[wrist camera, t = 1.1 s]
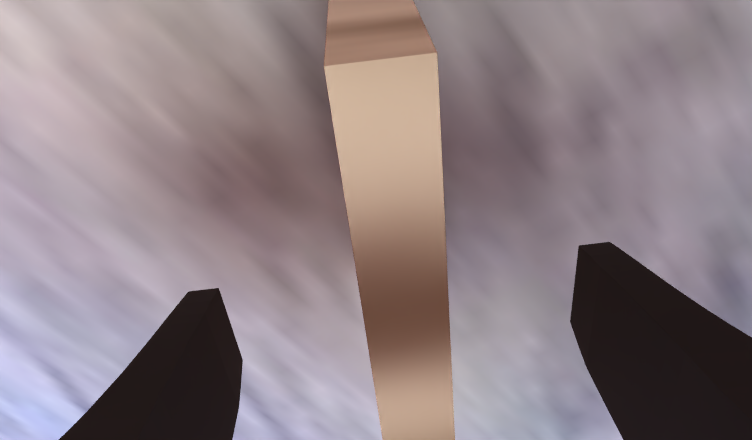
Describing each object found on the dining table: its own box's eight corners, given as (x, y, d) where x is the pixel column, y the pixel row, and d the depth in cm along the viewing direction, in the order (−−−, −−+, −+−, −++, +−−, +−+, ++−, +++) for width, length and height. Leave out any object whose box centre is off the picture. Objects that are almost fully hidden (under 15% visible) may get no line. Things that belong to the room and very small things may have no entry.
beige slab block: (330, -22, 15) (324, 65, 9) (399, -30, 15) (437, 52, 9) (371, 276, 20) (384, 450, 15) (422, 270, 20) (454, 442, 15)
